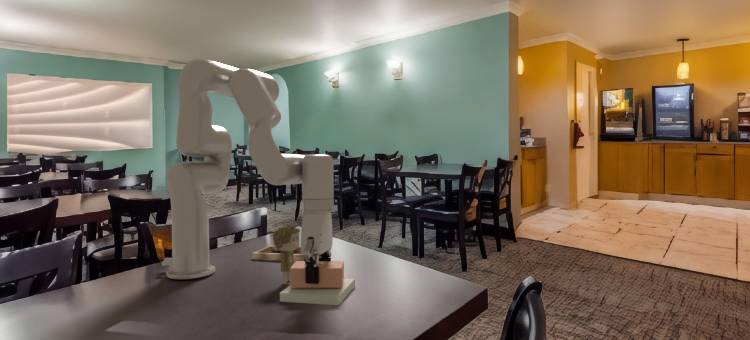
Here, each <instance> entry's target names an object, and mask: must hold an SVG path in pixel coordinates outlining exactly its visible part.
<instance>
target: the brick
mask: <svg viewBox="0 0 750 340" xmlns="http://www.w3.org/2000/svg"><path fill="white" fill-rule="evenodd" d="M317 266H319V283H318V284H307V283H306V282H305V261H295V262H294V264H293V265H292V267H291V268H290V281H289V283H290V284H289V286H290V288H342V284H343V280H344V278H345V273H344V272H345V270H344V269H345V261H344V260H331V261H318V265H317Z"/></svg>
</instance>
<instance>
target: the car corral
mask: <svg viewBox="0 0 750 340" xmlns="http://www.w3.org/2000/svg"><path fill="white" fill-rule="evenodd" d="M274 249H275V245H268V246H266V247H264V248H261V249H259V250H256V251H254V252H252V260H259V261H260V260H261V261H275V262H276V261H277V262H281V255H280V254H281V253H267V252H270V251H273V250H274ZM296 250H297V251H298V250H299V252H301V246H299V248H297V249H296ZM313 253H317V252H313ZM293 256H294V263H295V261H304V256H303V255H302V254H293ZM319 257H320V256H319ZM313 259H314V260H315V257H313Z"/></svg>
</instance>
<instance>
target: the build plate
mask: <svg viewBox="0 0 750 340" xmlns="http://www.w3.org/2000/svg"><path fill="white" fill-rule="evenodd" d="M355 288H356V279H355V278H347V277H346V278H345V277H344V280H343V284H342V288H290V285H288V286H287V287H286V288H284V289H282V291H280V292H279V302H282V303H283V302H284V303H297V304H310V305H311V304H312V305H313V304H314V305H324V306H325V305H328V306H340V305H341V303H342V302H343V301H344V299H346V298H347V297H348V295H349V294H350V293H351V292H353V290H354V289H355Z"/></svg>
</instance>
